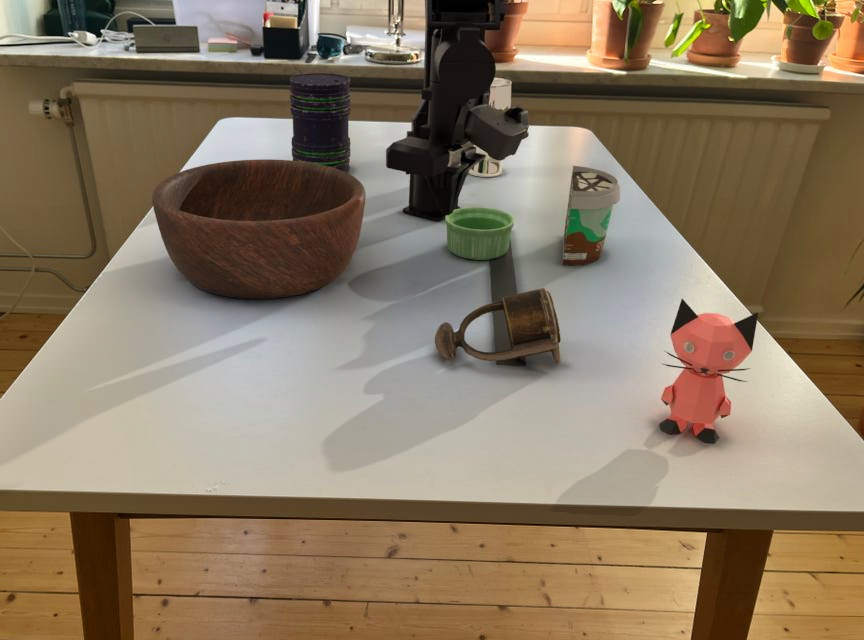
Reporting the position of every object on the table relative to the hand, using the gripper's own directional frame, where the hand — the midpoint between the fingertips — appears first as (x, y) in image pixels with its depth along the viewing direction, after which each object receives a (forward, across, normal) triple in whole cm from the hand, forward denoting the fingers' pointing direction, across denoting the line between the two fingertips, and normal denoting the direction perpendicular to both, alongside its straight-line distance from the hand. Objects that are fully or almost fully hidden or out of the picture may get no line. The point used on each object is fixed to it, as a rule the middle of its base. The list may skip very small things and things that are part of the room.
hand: (446, 214), depth 99 cm
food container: (+8, +16, -12) cm, 22 cm away
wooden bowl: (+8, -13, +18) cm, 24 cm away
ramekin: (+7, +8, 0) cm, 11 cm away
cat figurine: (+7, -17, -36) cm, 40 cm away
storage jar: (+8, +23, +39) cm, 46 cm away
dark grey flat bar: (+7, 0, -9) cm, 11 cm away
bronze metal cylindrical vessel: (+7, -15, -16) cm, 23 cm away
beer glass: (+8, +40, +17) cm, 44 cm away
